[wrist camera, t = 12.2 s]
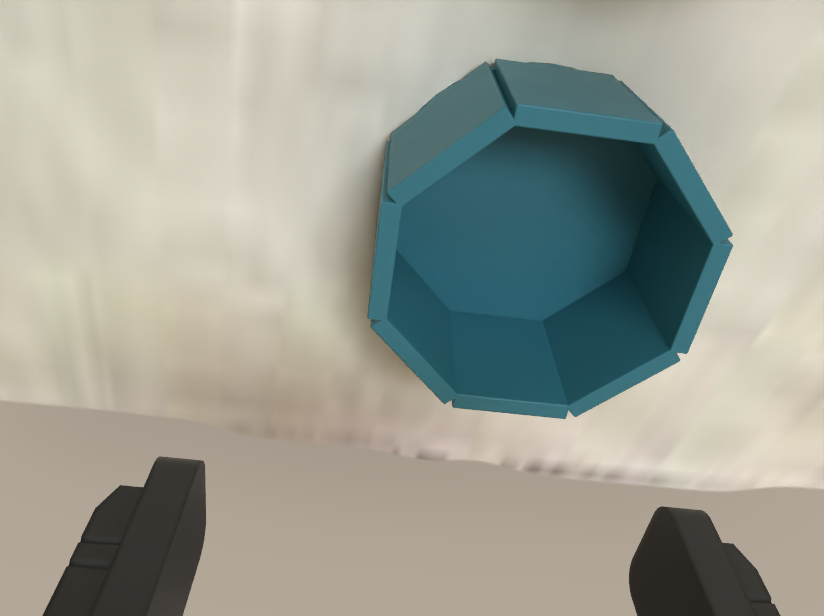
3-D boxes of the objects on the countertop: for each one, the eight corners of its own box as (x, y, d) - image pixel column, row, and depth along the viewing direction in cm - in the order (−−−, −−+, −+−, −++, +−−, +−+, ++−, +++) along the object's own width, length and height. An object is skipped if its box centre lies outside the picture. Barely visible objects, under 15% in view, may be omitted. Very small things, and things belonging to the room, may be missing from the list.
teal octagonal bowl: (366, 307, 37) (357, 398, 30) (397, 41, 30) (394, 86, 23) (613, 335, 38) (656, 428, 31) (701, 84, 31) (778, 138, 24)
